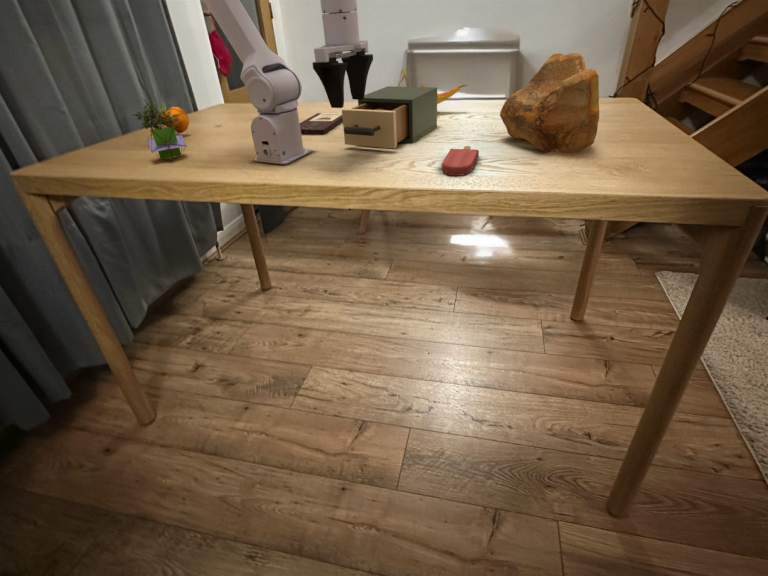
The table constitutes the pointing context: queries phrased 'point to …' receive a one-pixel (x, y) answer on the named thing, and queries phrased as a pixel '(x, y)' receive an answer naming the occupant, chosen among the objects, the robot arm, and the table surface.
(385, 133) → the drawer
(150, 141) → the geometric puzzle
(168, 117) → the christmas decoration
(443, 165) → the popsicle
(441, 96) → the magic lamp
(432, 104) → the cabinet
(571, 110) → the rough brown rock
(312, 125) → the chocolate bar
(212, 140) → the table surface
